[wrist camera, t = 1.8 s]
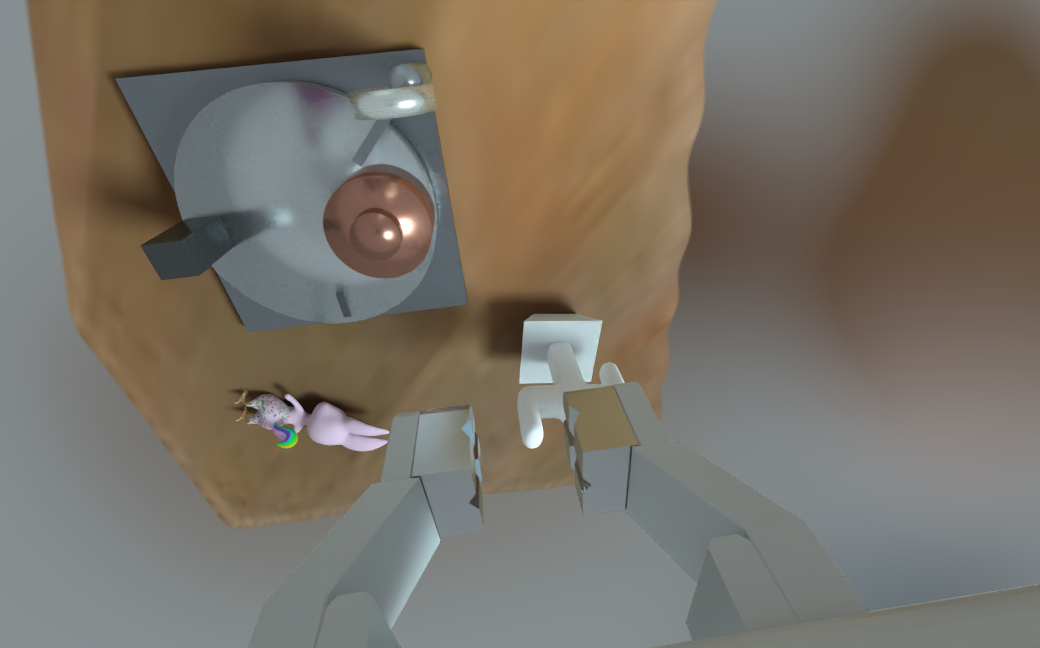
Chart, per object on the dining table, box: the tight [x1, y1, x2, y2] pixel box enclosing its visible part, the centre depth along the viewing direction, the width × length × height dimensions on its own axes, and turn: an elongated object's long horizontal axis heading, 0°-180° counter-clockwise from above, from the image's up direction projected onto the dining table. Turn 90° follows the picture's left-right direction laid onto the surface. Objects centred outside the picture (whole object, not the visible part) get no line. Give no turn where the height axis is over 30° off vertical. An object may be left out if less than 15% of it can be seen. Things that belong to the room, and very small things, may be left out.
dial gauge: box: [347, 62, 437, 166], centre depth 26 cm, size 5×6×11 cm
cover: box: [323, 164, 435, 279], centre depth 30 cm, size 7×7×5 cm
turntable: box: [141, 81, 438, 323], centre depth 30 cm, size 18×18×7 cm
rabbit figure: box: [236, 390, 389, 451], centre depth 43 cm, size 6×6×15 cm
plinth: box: [116, 49, 467, 332], centre depth 34 cm, size 20×20×1 cm
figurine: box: [517, 314, 625, 448], centre depth 37 cm, size 7×9×15 cm
